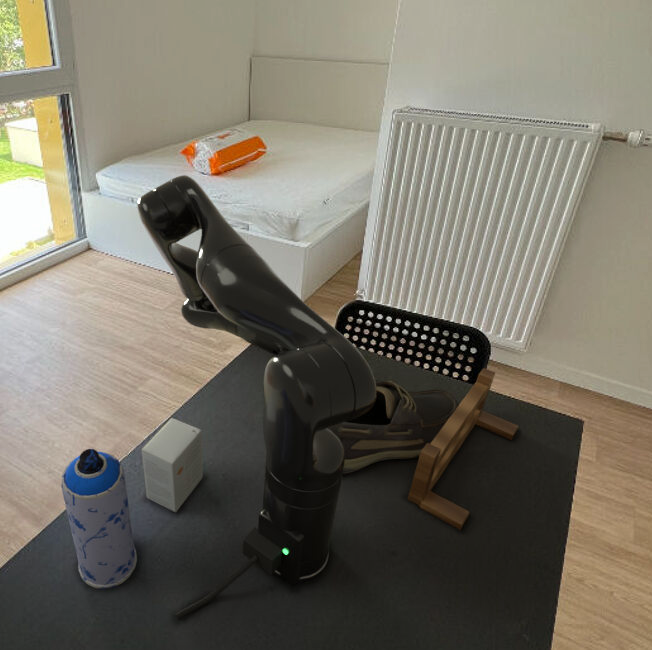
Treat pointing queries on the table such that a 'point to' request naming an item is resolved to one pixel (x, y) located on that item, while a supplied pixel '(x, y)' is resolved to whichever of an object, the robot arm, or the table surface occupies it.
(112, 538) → the aerosol can
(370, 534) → the table surface
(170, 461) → the small box
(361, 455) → the boat shoe
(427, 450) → the wooden display stand
